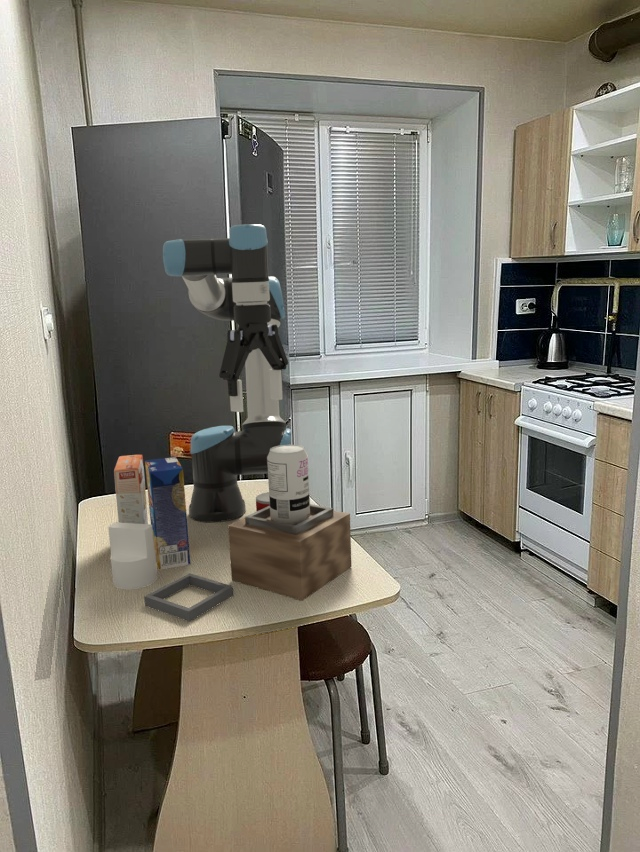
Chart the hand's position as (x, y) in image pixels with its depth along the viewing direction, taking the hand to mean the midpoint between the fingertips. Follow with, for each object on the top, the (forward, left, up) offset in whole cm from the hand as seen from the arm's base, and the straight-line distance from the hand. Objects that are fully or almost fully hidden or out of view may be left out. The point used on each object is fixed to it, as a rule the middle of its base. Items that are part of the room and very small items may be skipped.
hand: (257, 405), depth 139 cm
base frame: (+23, 0, -35) cm, 42 cm away
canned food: (-10, -5, -35) cm, 37 cm away
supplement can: (+3, +10, -23) cm, 25 cm away
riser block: (+3, +10, -35) cm, 36 cm away
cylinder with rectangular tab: (+22, -17, -35) cm, 45 cm away
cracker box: (+9, -32, -35) cm, 48 cm away
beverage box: (+10, -19, -35) cm, 41 cm away
